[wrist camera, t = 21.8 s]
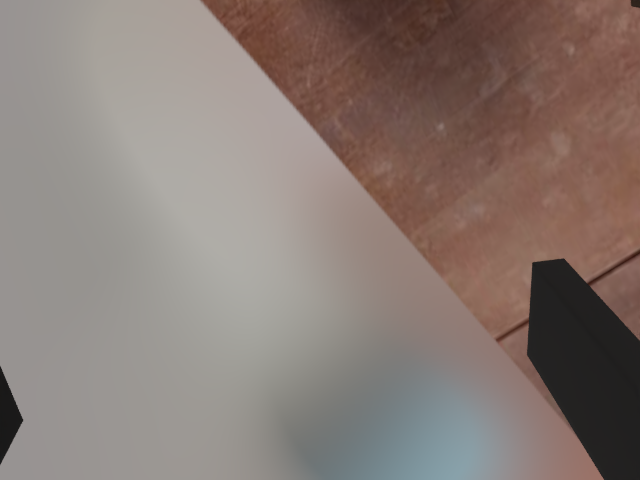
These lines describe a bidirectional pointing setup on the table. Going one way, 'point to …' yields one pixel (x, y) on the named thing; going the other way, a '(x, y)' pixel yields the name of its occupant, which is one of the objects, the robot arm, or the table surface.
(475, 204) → the table surface
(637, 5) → the shelf rack
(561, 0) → the table surface
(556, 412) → the table surface
